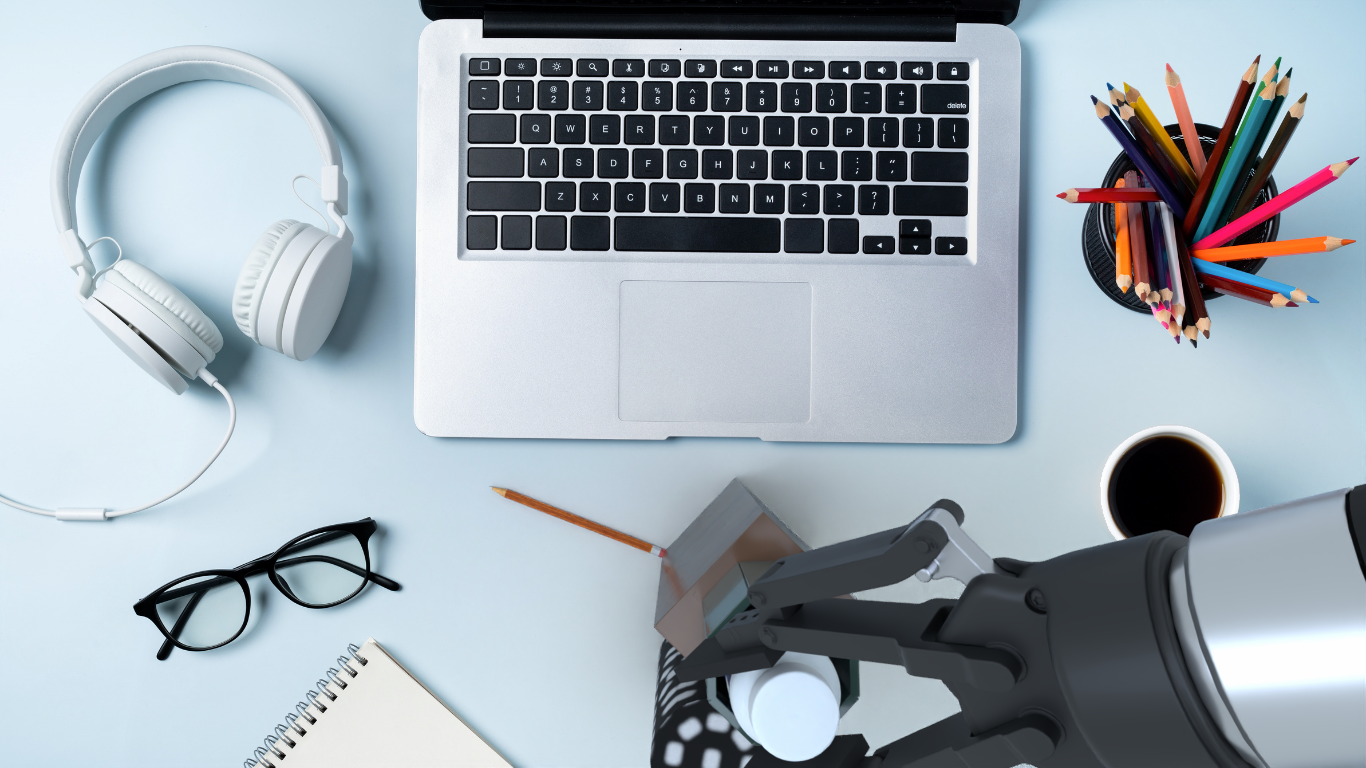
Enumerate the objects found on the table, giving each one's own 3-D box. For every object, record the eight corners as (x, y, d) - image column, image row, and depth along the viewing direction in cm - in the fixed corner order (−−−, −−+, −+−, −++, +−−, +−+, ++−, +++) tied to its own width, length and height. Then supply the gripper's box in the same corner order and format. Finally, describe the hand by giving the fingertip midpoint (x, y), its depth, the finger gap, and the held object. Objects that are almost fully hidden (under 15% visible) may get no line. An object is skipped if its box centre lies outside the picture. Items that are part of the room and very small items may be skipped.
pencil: (664, 558, 72) (664, 559, 72) (488, 490, 72) (486, 491, 72) (667, 550, 72) (667, 551, 72) (491, 482, 72) (489, 483, 72)
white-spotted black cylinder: (738, 714, 72) (761, 833, 52) (650, 698, 72) (639, 811, 52) (754, 626, 72) (783, 710, 52) (666, 610, 72) (662, 688, 52)
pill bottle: (783, 584, 44) (817, 632, 34) (831, 666, 44) (878, 738, 34) (702, 632, 44) (713, 694, 34) (749, 715, 44) (773, 801, 34)
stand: (812, 550, 72) (878, 622, 48) (739, 628, 72) (768, 738, 48) (735, 477, 72) (763, 511, 48) (662, 554, 72) (653, 627, 48)
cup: (855, 622, 48) (890, 665, 40) (768, 716, 48) (785, 777, 40) (763, 534, 48) (780, 559, 40) (675, 626, 48) (674, 670, 40)
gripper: (1390, 828, 25) (849, 817, 41) (1100, 344, 26) (677, 520, 42) (1406, 1046, 20) (777, 936, 36) (1038, 429, 20) (580, 594, 36)
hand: (724, 712), depth 39 cm, fingers closed on pill bottle, 5 cm apart
